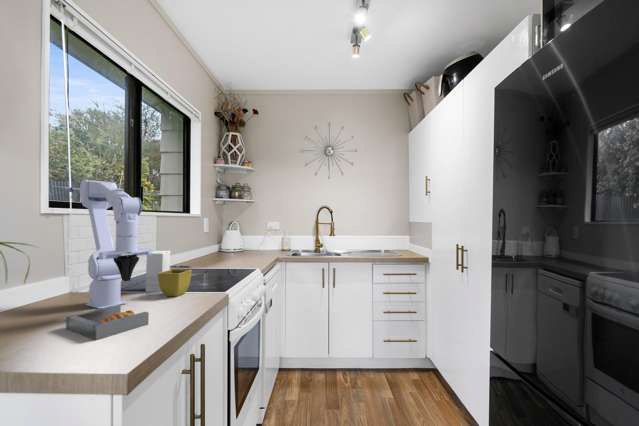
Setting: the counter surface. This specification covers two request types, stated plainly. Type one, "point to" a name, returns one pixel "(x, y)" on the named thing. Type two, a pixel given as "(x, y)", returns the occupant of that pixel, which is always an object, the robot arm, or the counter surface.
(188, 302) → the counter surface
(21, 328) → the counter surface
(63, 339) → the counter surface
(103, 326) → the grey tray
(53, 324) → the counter surface
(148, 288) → the skincare box
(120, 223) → the robot arm
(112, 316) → the pastry
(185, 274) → the flower pot
